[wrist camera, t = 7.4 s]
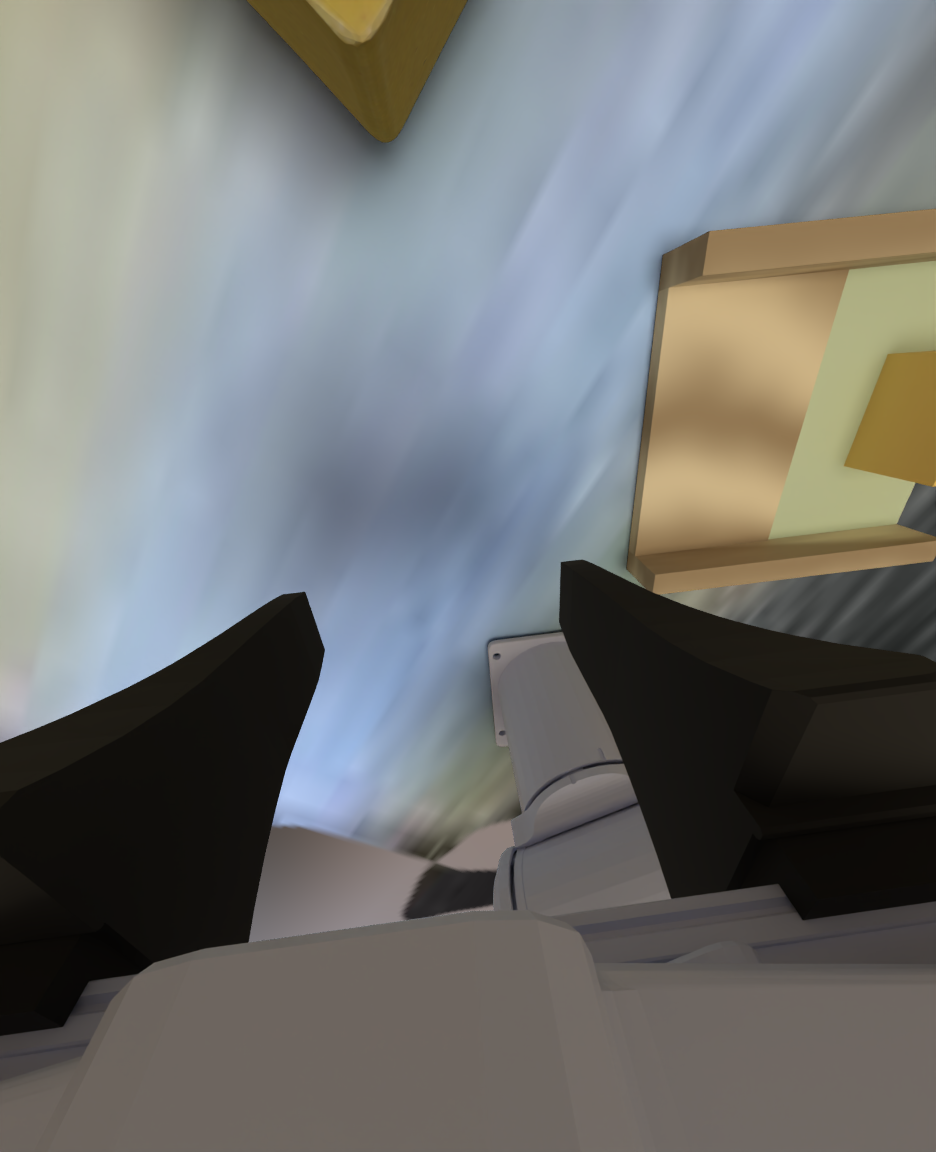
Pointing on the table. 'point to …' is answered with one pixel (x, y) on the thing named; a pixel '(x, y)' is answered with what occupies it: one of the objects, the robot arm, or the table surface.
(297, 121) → the table surface
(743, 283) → the channel
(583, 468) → the table surface
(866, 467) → the block
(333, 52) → the flower pot
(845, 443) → the pad
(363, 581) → the table surface
